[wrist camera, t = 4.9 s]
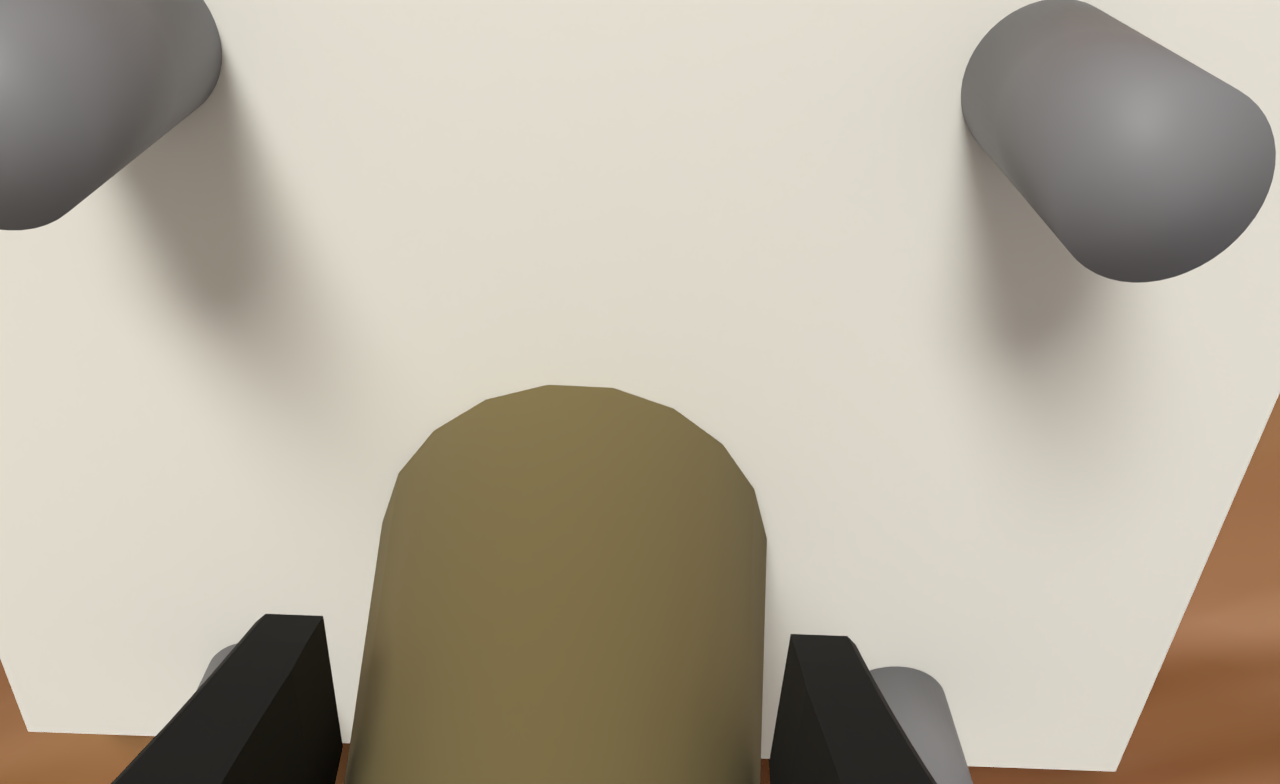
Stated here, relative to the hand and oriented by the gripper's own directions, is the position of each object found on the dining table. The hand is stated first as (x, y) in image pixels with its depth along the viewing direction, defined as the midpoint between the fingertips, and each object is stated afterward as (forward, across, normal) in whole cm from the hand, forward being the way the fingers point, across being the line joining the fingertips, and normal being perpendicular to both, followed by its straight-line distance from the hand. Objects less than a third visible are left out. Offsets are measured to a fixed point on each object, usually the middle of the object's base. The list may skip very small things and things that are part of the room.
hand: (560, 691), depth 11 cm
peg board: (+6, 0, 0) cm, 6 cm away
